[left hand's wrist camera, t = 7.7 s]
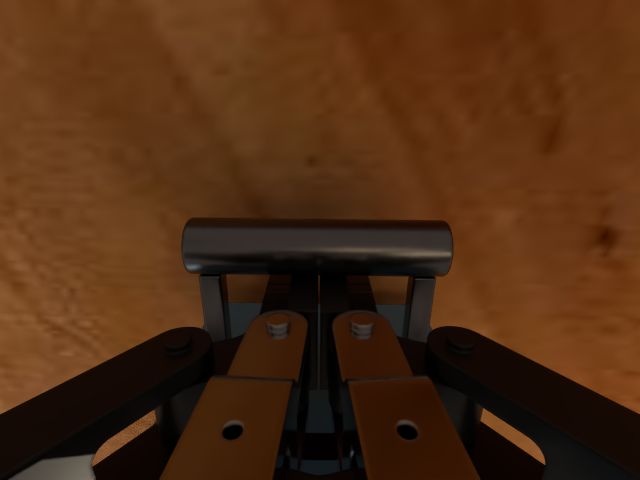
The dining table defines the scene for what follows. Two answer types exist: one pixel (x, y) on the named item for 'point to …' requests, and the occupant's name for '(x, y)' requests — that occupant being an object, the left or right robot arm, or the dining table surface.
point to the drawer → (316, 259)
